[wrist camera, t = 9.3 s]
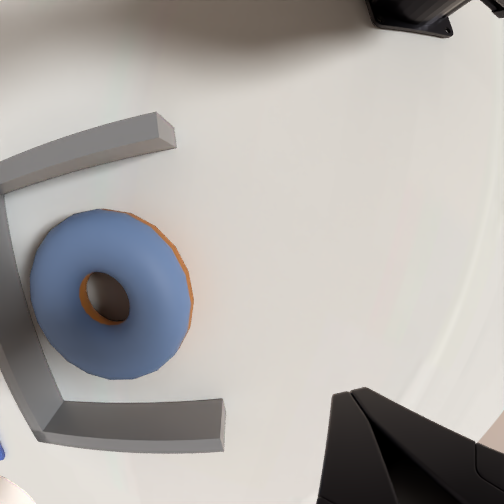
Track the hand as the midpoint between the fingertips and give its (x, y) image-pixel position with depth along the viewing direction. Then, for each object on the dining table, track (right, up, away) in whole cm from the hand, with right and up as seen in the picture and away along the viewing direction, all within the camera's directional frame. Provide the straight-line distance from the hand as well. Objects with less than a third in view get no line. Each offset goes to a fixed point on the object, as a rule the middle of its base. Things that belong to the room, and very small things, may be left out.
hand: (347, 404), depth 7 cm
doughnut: (-10, +2, +12) cm, 16 cm away
